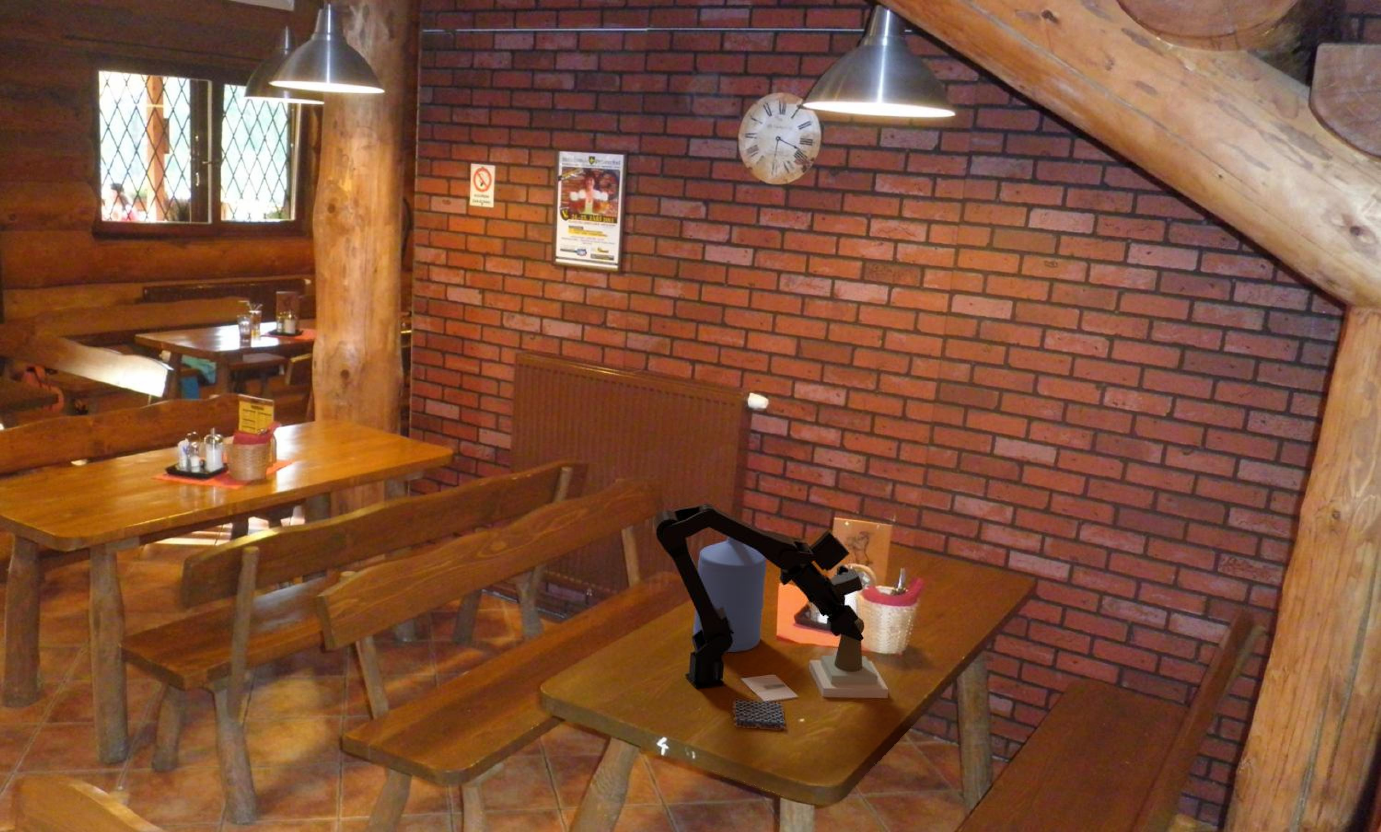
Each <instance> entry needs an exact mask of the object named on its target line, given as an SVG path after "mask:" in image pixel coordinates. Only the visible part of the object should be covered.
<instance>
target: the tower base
mask: <svg viewBox="0 0 1381 832" xmlns="http://www.w3.org/2000/svg"><path fill="white" fill-rule="evenodd" d="M835 659H836V655H821V658H820V659H819V660H818V659H817V660H816V659H810V660H809V666H808V669H809V671H810V674H811V675H812V677H813V679H814V682H815V683H816V686H817V689H818V690H819V692H820V694H821V696H822V698H852V699H853V698H855V699H857V698H859V699H861V698H862V699H863V698H864V699H865V698H868V699H869V698H871V699H873V698H874V699H876V698H877V699H888V697H889V695H888V694H889V688H888V687H887V684H886V683H885V681H884V680H883V677H882V676H881V674H879V671H878V670H877V668H876V666H875V665H874V663H873V661H872V660H868V657H867V656H865V655H864V656H863V655H862V669H861V670H859V671H854V672H849V671H843V670H840V669H838V668H836V666H835V665H834V663H835Z"/></svg>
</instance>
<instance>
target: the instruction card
mask: <svg viewBox="0 0 1381 832" xmlns="http://www.w3.org/2000/svg"><path fill="white" fill-rule="evenodd" d="M740 679H741V682H743V683H744V684H745V685H746V686H747V687H748V689H750V690H751V691H752V692H753V693H754V694H755V695H756V696H757V697H758V698H759V699H760V700H761V702H762V703H763V702H765V703H766V702H767V701H768V702H769V703H770V702H774V701H776V702H778V701H785V700H792V699H798V698H799V696H798V695H797V694H796V693H795V692H794V691H793V690H792V689H791V688H790V687H789V686H788V685H787V684H786V683H785V682H784V681H782V680H781V679H780V678H779V677H778V676H776V675H775V674H768V675H766V674H765V675H761V676H752V677H751V676H750V677H745V678H743V677H742V678H740Z"/></svg>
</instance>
